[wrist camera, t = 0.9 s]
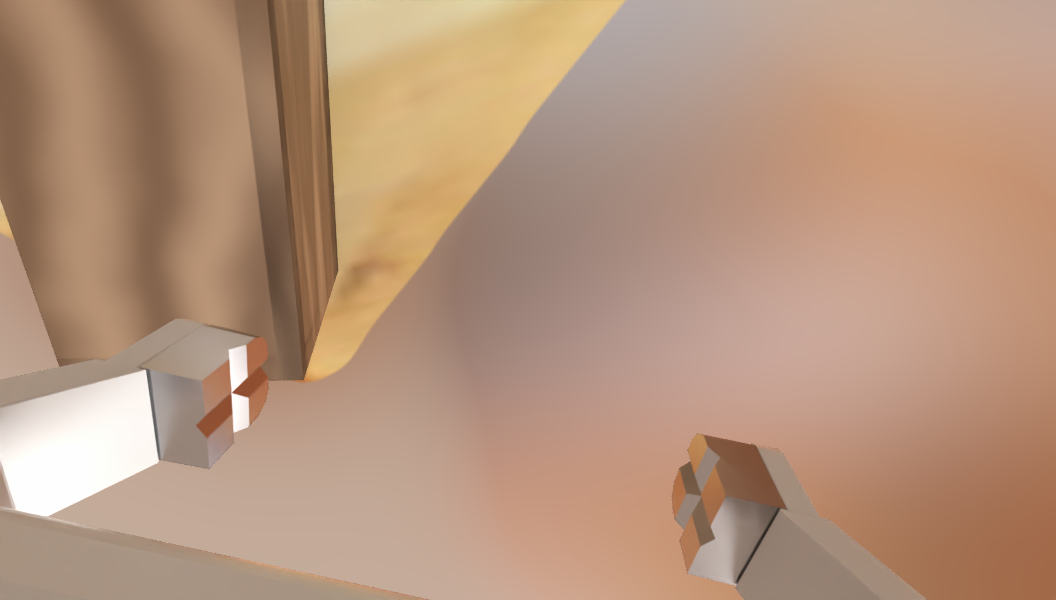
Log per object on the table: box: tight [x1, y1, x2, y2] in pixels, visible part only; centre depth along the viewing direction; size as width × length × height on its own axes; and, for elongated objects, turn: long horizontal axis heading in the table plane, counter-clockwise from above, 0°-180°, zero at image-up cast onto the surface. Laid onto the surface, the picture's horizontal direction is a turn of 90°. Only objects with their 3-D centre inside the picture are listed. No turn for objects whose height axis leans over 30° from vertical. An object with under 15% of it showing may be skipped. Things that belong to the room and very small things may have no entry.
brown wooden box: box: [0, 0, 338, 381], centre depth 35 cm, size 14×30×19 cm, turn 173°
